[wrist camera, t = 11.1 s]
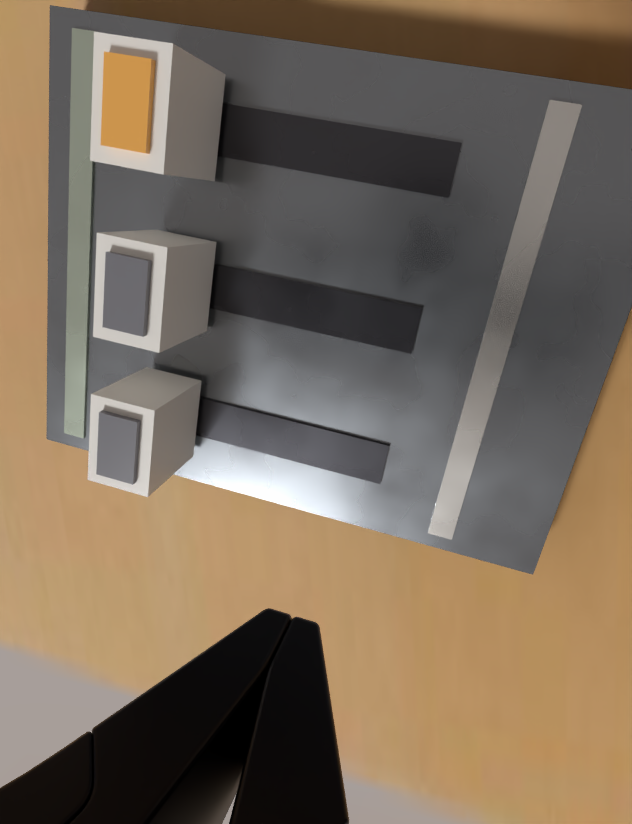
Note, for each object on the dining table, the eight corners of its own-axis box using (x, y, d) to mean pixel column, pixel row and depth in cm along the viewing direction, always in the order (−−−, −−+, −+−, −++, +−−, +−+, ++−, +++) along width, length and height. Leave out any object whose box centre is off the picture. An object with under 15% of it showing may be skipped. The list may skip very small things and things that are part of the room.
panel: (685, 110, 16) (709, 99, 14) (528, 550, 20) (533, 576, 19) (80, 20, 18) (47, 4, 17) (71, 425, 23) (44, 440, 22)
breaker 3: (201, 380, 19) (150, 412, 16) (193, 455, 20) (144, 500, 17) (146, 366, 20) (86, 395, 17) (141, 441, 21) (84, 482, 18)
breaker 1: (225, 74, 16) (169, 41, 13) (214, 181, 17) (159, 174, 14) (159, 64, 17) (89, 29, 13) (152, 169, 18) (85, 160, 14)
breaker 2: (216, 242, 18) (164, 248, 15) (206, 331, 19) (155, 354, 16) (156, 229, 18) (92, 232, 15) (150, 317, 19) (88, 338, 16)
